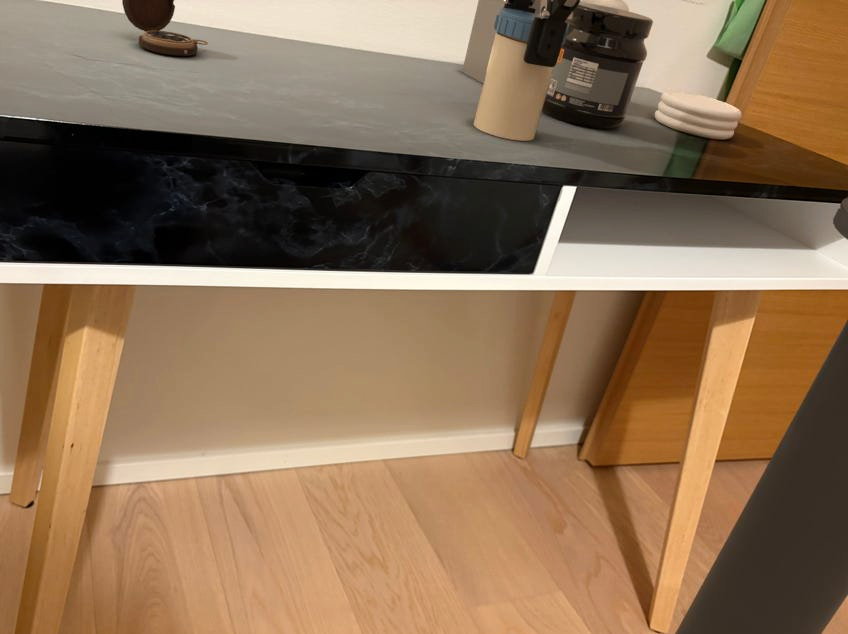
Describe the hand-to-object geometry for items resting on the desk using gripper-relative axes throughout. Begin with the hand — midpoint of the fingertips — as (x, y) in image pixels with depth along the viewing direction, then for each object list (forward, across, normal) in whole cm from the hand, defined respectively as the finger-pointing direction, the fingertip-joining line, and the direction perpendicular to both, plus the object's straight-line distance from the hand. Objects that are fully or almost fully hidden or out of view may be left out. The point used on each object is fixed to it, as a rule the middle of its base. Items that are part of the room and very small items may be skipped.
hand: (524, 54), depth 79 cm
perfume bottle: (+8, +26, -9) cm, 29 cm away
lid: (-3, 0, 0) cm, 3 cm away
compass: (+8, +17, +33) cm, 38 cm away
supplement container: (+8, +11, -14) cm, 19 cm away
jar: (+8, 0, 0) cm, 8 cm away
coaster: (+8, +14, -32) cm, 36 cm away
